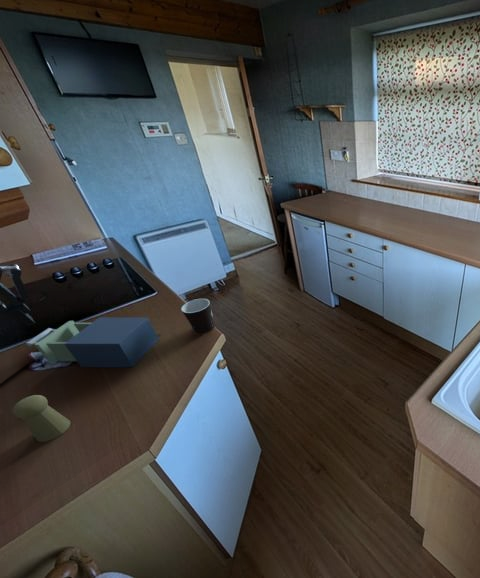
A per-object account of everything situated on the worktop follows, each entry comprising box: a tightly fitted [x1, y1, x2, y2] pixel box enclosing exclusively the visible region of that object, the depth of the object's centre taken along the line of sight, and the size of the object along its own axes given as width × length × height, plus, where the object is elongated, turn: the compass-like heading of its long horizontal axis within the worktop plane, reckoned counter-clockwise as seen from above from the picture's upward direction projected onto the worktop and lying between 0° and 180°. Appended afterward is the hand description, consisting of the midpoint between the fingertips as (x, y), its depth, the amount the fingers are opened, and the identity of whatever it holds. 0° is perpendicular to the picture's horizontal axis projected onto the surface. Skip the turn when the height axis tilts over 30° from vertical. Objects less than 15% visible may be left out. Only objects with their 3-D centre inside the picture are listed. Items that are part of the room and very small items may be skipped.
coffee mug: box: [181, 298, 215, 335], centre depth 105 cm, size 12×9×10 cm
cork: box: [12, 394, 71, 443], centre depth 69 cm, size 6×6×11 cm
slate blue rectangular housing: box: [65, 316, 160, 368], centre depth 92 cm, size 16×13×10 cm
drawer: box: [25, 320, 92, 365], centre depth 92 cm, size 20×11×8 cm, turn 91°
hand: (29, 321), depth 76 cm, fingers closed
